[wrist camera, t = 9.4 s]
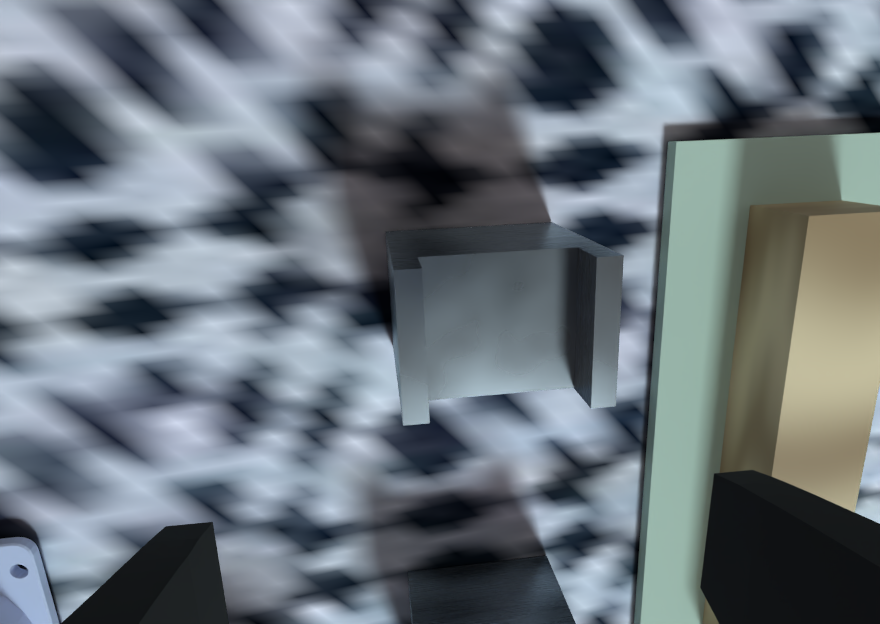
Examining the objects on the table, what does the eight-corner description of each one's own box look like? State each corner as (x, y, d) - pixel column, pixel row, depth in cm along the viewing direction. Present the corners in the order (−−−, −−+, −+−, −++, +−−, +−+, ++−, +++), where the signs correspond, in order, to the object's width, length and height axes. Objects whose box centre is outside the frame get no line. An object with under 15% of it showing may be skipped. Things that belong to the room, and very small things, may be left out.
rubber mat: (818, 642, 24) (827, 652, 24) (630, 668, 23) (636, 679, 23) (913, 130, 18) (928, 130, 18) (668, 141, 18) (676, 141, 17)
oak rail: (775, 619, 23) (822, 675, 20) (701, 629, 22) (741, 687, 20) (841, 200, 18) (913, 209, 16) (750, 205, 18) (809, 215, 15)
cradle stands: (545, 635, 22) (596, 777, 17) (412, 652, 22) (427, 804, 17) (551, 222, 18) (623, 255, 13) (385, 231, 17) (393, 270, 12)
